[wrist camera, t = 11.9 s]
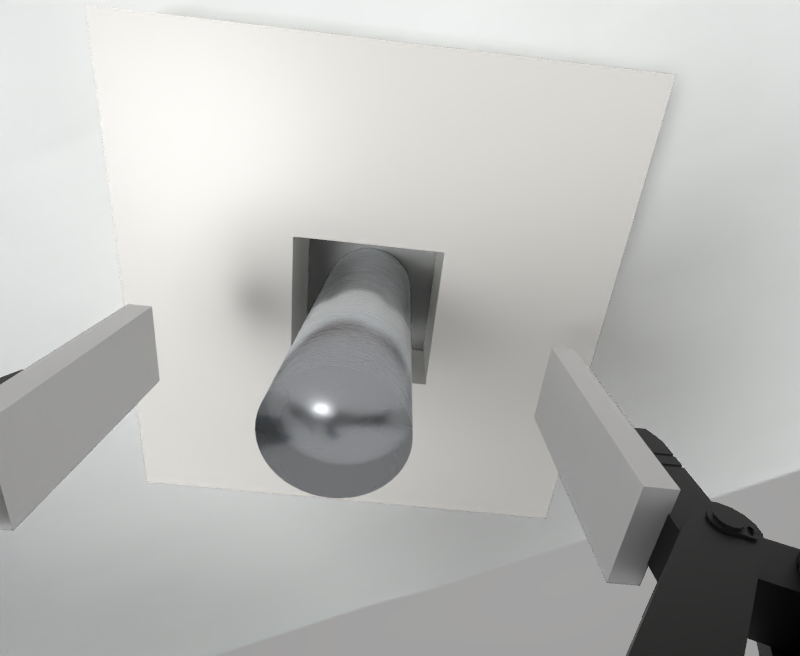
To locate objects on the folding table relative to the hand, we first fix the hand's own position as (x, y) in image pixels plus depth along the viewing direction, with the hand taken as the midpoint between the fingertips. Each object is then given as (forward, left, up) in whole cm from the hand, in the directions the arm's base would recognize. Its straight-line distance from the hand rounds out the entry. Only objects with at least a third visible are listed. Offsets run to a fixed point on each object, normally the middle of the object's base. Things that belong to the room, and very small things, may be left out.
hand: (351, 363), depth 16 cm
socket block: (0, 0, -8) cm, 8 cm away
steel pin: (0, 0, -8) cm, 8 cm away
